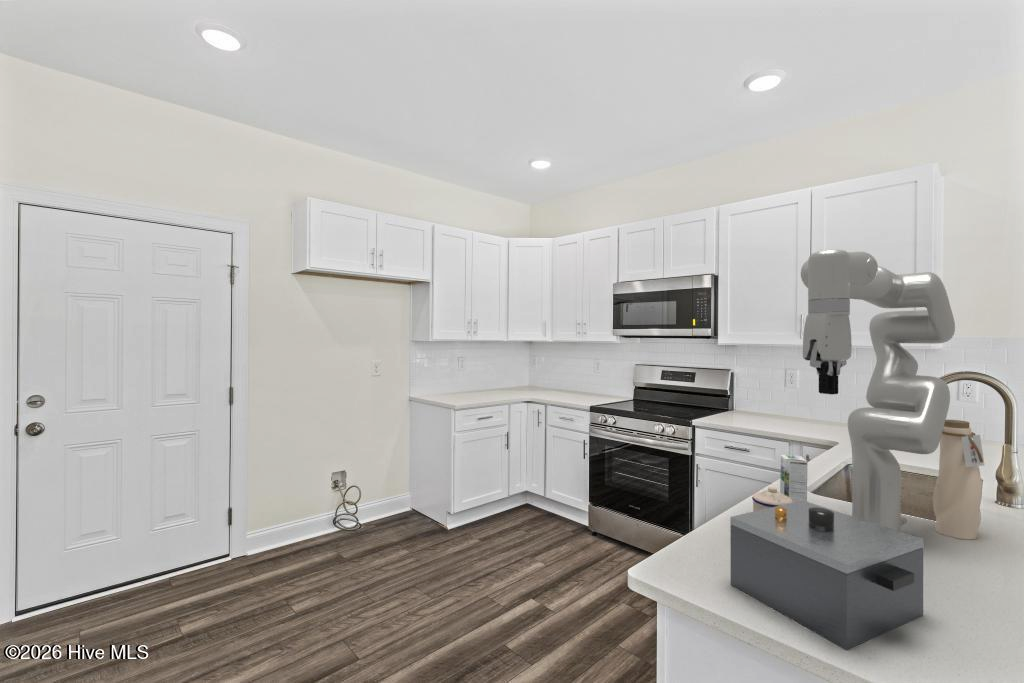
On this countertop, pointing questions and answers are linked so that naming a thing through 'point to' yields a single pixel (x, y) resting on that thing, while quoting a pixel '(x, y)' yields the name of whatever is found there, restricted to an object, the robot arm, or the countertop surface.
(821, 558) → the cooker lid
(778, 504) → the teacup with lid
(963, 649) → the countertop surface
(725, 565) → the countertop surface
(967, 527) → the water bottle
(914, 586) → the grey lidded box
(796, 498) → the syrup box
